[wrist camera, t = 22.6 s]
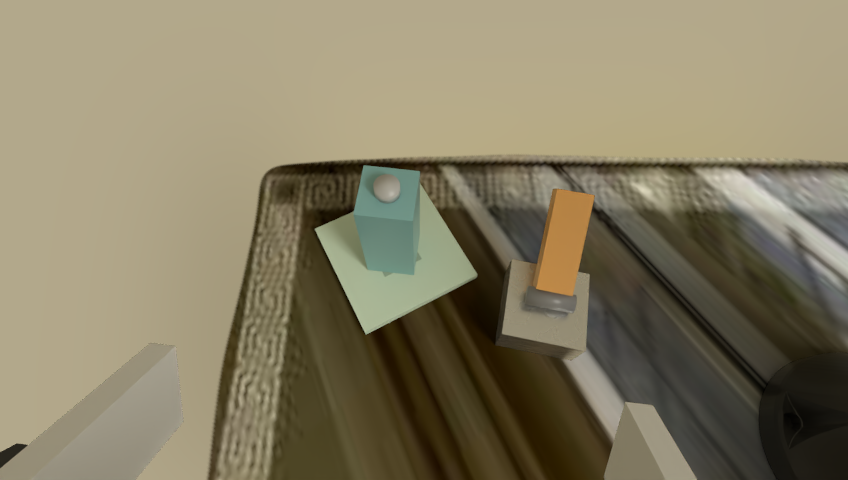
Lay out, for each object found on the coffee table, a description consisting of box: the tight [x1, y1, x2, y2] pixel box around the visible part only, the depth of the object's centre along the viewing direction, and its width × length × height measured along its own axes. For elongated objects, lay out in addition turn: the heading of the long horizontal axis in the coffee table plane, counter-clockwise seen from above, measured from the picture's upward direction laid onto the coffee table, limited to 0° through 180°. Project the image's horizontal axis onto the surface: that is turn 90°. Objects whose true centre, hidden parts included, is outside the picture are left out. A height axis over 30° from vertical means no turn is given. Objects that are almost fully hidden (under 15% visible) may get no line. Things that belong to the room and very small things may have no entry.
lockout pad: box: [315, 184, 477, 334], centre depth 45 cm, size 12×12×1 cm
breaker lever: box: [524, 189, 595, 313], centre depth 38 cm, size 2×4×10 cm
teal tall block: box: [353, 165, 420, 275], centre depth 40 cm, size 4×4×12 cm
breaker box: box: [495, 259, 590, 361], centre depth 41 cm, size 7×7×4 cm
